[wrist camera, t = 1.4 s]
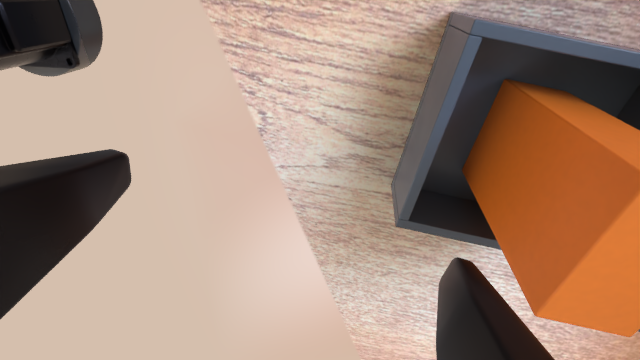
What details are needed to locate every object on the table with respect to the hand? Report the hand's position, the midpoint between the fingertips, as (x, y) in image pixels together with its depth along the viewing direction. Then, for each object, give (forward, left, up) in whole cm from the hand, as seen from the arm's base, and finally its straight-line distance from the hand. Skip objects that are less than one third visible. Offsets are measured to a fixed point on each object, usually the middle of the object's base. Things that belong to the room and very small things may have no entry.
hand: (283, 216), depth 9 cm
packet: (+11, -2, -13) cm, 17 cm away
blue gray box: (+11, -2, -13) cm, 17 cm away
